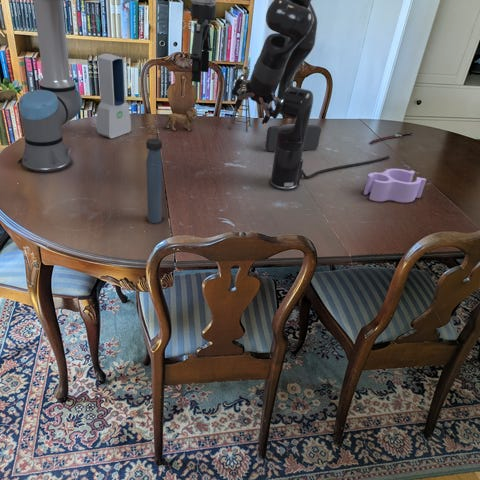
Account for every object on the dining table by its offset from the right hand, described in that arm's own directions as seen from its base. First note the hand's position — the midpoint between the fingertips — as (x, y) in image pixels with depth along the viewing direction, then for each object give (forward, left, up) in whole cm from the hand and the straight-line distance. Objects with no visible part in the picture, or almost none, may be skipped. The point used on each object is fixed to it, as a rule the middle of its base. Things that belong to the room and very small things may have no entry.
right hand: (251, 114), depth 134 cm
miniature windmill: (-42, -56, -29) cm, 76 cm away
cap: (+30, -3, -5) cm, 30 cm away
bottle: (+30, -3, -29) cm, 41 cm away
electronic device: (+11, -70, -29) cm, 77 cm away
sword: (-99, -16, -29) cm, 104 cm away
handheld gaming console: (-46, -26, -29) cm, 60 cm away
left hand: (-1, -28, +4) cm, 29 cm away
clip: (-51, +21, -29) cm, 62 cm away
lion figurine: (-16, -64, -29) cm, 72 cm away
